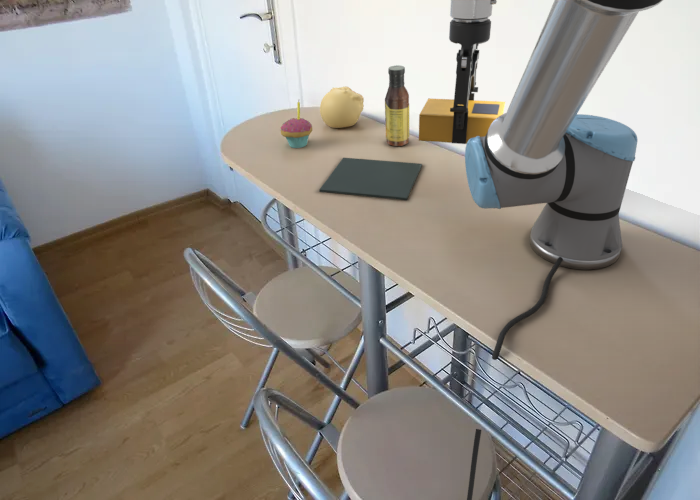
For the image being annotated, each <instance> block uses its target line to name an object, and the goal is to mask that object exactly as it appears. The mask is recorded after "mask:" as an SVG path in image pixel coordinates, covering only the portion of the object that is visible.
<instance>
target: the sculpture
mask: <svg viewBox="0 0 700 500" xmlns="http://www.w3.org/2000/svg"><path fill="white" fill-rule="evenodd" d="M364 98H365V97H364V96H363V95H362V94H360V93H359V92H356V91H355V90H352V89H351V87H349V86H341V87H332V88H331V89H330V90H329V91H328V92H327V93H325V95H323V97H322V99H321V101H320V105H319V113H320V116H321V119H322V121H323V122H324V124H325V125H326V126H328V127H330V128H334V129H335V128H337V129H338V128H340V129H341V128H347V127H352V126H354V125H356V124H357V122H358V120H359V119H360V116H361V114H362V112H363V111H364V106H365V105H364V101H365V99H364Z"/></svg>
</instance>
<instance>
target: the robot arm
mask: <svg viewBox="0 0 700 500" xmlns="http://www.w3.org/2000/svg"><path fill="white" fill-rule="evenodd" d="M663 1H664V0H554V1H553V4H552V5H551V8H550V9H549V11H548V14H547V17H546V19H545V22H544V24H543V27H542V28H541V31H540V34H539V36H538V38H537V40H536V42H535V45H534V47H533V49H532V52H531V54H530V57H529V60H528V62H527V64H526V67H525V68H524V71H523V73H522V76H521V78H520V80H519V82H518V85H517V87H516V90H515V92H514V94H513V96H512V99H511V101H510V103H509V106H508V108H507V109H506V112H505V113H503V114H502V115H500V116H499V117H498V118H496V119H495V120H494V121H493V122H492V124H491V125H490V127H489V129H488V132H487V134H486V136H484V137H480V136H476V137H474V138H471V139H469V140H468V142H467V144H466V136H467V124H468V101H469V100H475V93H478V92H479V86H476V85H477V69H478V64H479V58H480V49H479V46H480V45H482V44H485V43H487V42H489V41H490V38H491V31H492V29H491V28H492V21H491V19H490V18H491V16H493V15H492V14H493V5H497V2H498V1H497V0H450V7H449V16H450V17H451V18H452V19H451V20H450V22H449V34H448V39H449V41H450V42H451V43H453V44H456V45H457V44H459V45H460V49H458V50H457V51H458V52H457V53H456V58H455V60H456V68H455V69H456V70H455V84H454V85H455V86H454V96H453V100H454V105H453V108H450V112H454V117H453V133H452V143H451V144H459V145H465V151H464V165H465V166H464V167H465V173H466V179H467V184H468V189H469V193H470V195H471V197H472V200H473V202H474V203H475V204H476V205H477V207H479V208H481V209H484V210H485V209H486V210H487V209H497V210H501V209H505V208H513V207H522V206H530V205H531V206H532V205H540V204H545V205H544V206H543V209H542V210H541V212H540V214H539V215H538V217H537V219H536V221H535V222H534V223H533V225H532V227H531V229H530V235H529V245H530V247H531V249H532V250H533V251H534V252H535V253H536V255H538V256H539V257H541V258H542V259H544V260H546V261H547V262H549V263H552V264H553V265H552V267H551V269H550V270H549V272H548V274H547V275H546V278H545V280H544V283H543V286H542V291H541V294H540V297H539V299H538V301H537V302H536V304H534V305H533V306H532V307H531V308H529V309H528V310H526V311H524V312H523V313H521V314H518V315H517V316H515V317H513V318H512V319H510V320H509V321H507V323H506V324H505V325H504V326H503V328H502V329H501V330H500V332H499V334H498V336H497V340H496V342H495V346H494V349H493V352H492V355H491V359H492V360H494V361H496V360H498V359H499V356H500V353H501V350H502V347H503V344H504V341H505V337H506V336H507V333H508V332H509V331H510V330H511V329H512V328H513V327H514V326H515V325H517V324H518V323H520V322H522V321H523V320H525V319H527V318H530V317H531V316H532V315H534V314H536V312H537V311H539V310H540V309H541V307H542V306H543V305H544V303H546V302H545V301H546V299H547V297H548V292H549V288H550V284H551V281H552V279H553V277H554V276H555V274H556V272H557V271H558V269H559V267H563V268H568V269H574V270H590V271H591V270H598V269H604V268H606V267H609V266H612V265H613V264H615V263H616V262H617V261H618V259H619V258H620V254H621V252H622V248H623V240H622V231H621V222H620V211H621V207H622V203H623V201H624V196H625V192H626V189H627V185H628V181H629V177H630V173H631V170H632V166H633V163H634V162H635V160H636V153H637V148H638V147H637V146H638V136H637V133H636V131H634V129H632V128H631V127H629V126H628V125H627V124H624V123H622V122H619V121H617V120H615V119H612V118H608V117H603V116H599V115H594V114H583V113H582V114H581V113H580V114H579V111H580V110H581V108H582V106H583V105H584V103H585V102H586V100H587V98H588V97H589V95H590V93H591V92H592V90H593V88H594V86H595V85H596V83H597V82H598V80H599V78H600V77H601V75H602V73H603V72H604V71H605V68H606V67H607V66H608V63H609V62H610V60H611V59H612V57H613V55H614V54H615V53H616V50H617V49H618V47H619V46H620V44H621V42H622V41H623V39H624V37H625V36H626V34H627V33H628V31H629V29H630V28H631V26H632V24H633V22H634V21H635V19H636V18H637V16H638V15H639V13H640V12H643V11H646V10H650V9H653V8H654V7H656V6H658V5H660V4H661V3H662V2H663ZM459 105H464V106H459ZM481 437H482V429H479V428H475V433H474V440H473V446H472V455H471V462H470V469H469V470H470V471H469V480H468V487H467V496H466V500H473V496H474V495H473V494H474V487H475V479H476V478H475V477H476V471H477V465H478V464H477V463H478V457H479V449H480V444H481V443H480V442H481Z"/></svg>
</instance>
